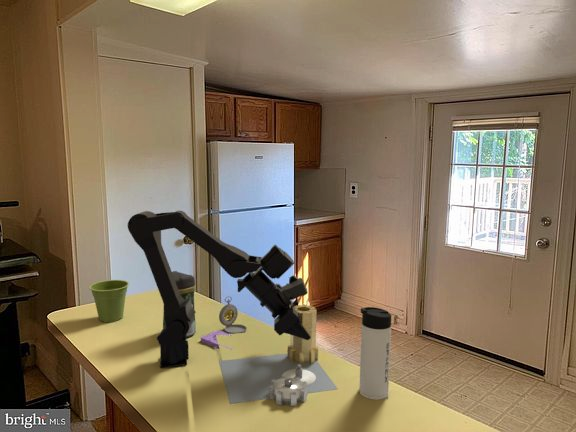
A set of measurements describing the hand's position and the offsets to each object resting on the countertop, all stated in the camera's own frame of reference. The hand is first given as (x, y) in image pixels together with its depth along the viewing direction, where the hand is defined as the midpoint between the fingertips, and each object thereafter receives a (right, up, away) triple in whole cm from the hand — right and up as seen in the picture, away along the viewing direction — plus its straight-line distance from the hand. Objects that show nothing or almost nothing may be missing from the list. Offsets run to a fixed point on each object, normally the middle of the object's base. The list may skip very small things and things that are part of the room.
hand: (308, 333), depth 110 cm
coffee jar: (-37, -5, +18) cm, 42 cm away
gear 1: (-1, -6, +1) cm, 7 cm away
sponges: (-23, -7, +12) cm, 27 cm away
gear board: (-8, -9, -8) cm, 14 cm away
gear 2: (-5, -9, -17) cm, 20 cm away
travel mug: (+13, -10, -15) cm, 22 cm away
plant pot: (-63, -3, +30) cm, 69 cm away
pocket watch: (-22, -5, +22) cm, 31 cm away
